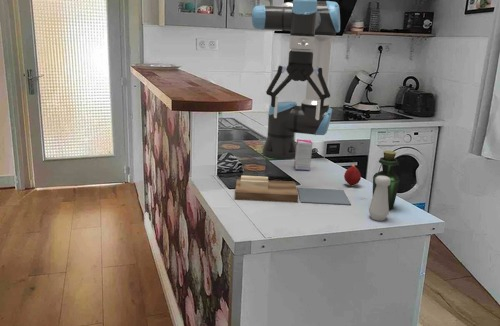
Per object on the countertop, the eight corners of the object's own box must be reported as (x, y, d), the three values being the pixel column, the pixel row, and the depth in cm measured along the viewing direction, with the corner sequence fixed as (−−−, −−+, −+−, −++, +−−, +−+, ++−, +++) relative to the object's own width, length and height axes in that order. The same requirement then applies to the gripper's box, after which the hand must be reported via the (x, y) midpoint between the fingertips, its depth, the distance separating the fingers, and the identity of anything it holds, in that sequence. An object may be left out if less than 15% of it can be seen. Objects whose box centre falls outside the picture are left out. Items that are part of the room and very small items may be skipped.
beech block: (240, 182, 157) (241, 175, 156) (267, 183, 157) (268, 176, 156) (240, 188, 151) (240, 180, 151) (267, 189, 151) (268, 182, 151)
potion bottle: (393, 213, 143) (401, 156, 138) (367, 208, 146) (373, 152, 141) (397, 205, 150) (405, 151, 145) (372, 200, 153) (378, 147, 148)
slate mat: (297, 188, 162) (297, 187, 162) (343, 190, 162) (343, 189, 162) (300, 202, 148) (300, 201, 148) (351, 205, 148) (351, 204, 148)
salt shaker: (363, 217, 139) (368, 175, 135) (375, 213, 142) (380, 172, 139) (380, 223, 135) (386, 180, 131) (391, 219, 138) (397, 177, 135)
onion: (362, 185, 168) (364, 164, 166) (356, 189, 164) (358, 167, 161) (347, 182, 171) (349, 161, 169) (340, 186, 167) (342, 164, 164)
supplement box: (310, 171, 183) (312, 143, 180) (295, 170, 183) (297, 142, 180) (308, 167, 189) (310, 139, 185) (293, 166, 188) (296, 138, 185)
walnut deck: (236, 185, 162) (237, 178, 161) (294, 188, 162) (294, 181, 161) (234, 199, 148) (235, 192, 148) (297, 202, 148) (298, 195, 148)
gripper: (261, 49, 141) (257, 118, 146) (343, 53, 141) (336, 122, 147) (260, 48, 148) (257, 114, 153) (338, 52, 149) (332, 118, 154)
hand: (296, 118), depth 150 cm, fingers open, 13 cm apart
